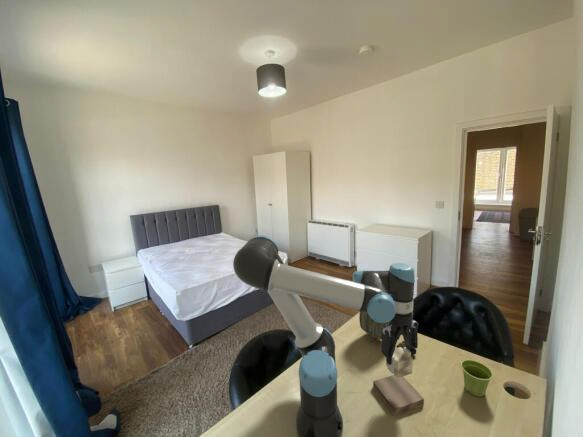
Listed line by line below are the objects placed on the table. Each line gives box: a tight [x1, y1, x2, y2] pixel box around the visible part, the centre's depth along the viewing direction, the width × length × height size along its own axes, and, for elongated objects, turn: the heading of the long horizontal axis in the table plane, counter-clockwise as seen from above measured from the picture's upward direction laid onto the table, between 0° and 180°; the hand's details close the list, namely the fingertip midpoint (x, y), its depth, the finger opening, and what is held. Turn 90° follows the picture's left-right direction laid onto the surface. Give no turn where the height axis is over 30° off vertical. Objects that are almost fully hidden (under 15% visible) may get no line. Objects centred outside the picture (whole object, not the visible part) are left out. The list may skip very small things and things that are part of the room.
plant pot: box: [460, 359, 494, 397], centre depth 91 cm, size 9×9×9 cm
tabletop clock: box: [358, 311, 390, 342], centre depth 119 cm, size 14×9×25 cm, turn 34°
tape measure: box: [396, 340, 417, 357], centre depth 111 cm, size 7×7×4 cm
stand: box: [372, 374, 425, 417], centre depth 91 cm, size 12×12×2 cm
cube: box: [385, 347, 414, 378], centre depth 88 cm, size 6×6×6 cm
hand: (398, 368), depth 89 cm, fingers closed on cube, 6 cm apart
